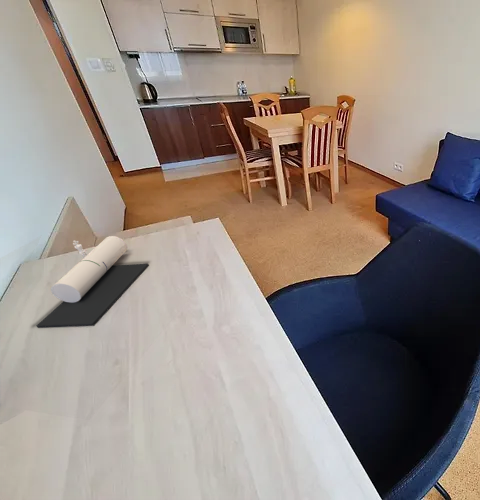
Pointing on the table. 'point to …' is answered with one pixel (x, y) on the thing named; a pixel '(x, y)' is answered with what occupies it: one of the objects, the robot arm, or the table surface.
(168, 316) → the table surface
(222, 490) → the table surface
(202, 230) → the table surface
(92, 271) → the cylindrical container
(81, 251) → the chess piece
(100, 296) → the mat
